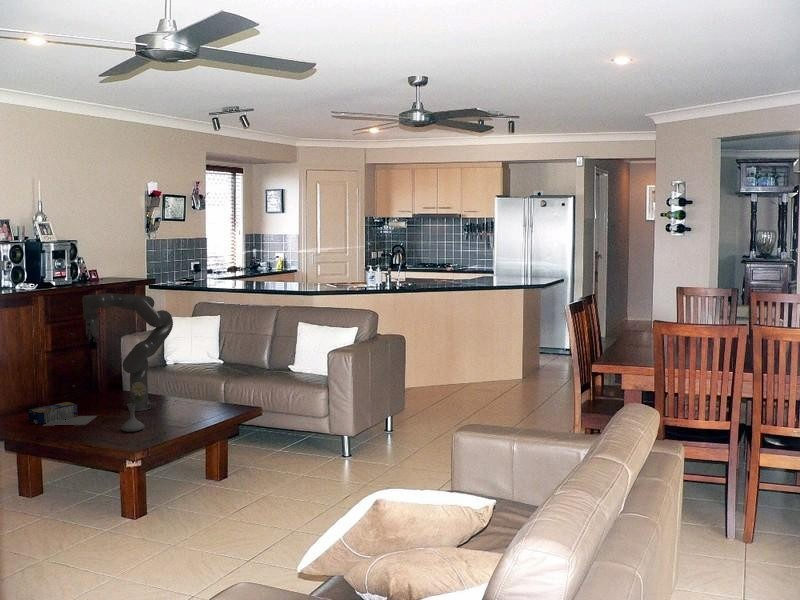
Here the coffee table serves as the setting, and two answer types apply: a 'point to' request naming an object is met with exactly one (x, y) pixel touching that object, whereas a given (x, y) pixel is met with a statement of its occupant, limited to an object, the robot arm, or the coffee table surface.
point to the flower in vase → (133, 423)
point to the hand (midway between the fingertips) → (93, 348)
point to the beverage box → (53, 413)
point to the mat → (72, 421)
